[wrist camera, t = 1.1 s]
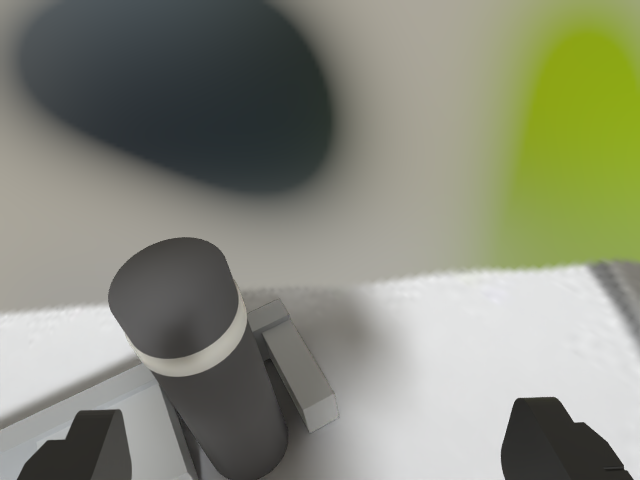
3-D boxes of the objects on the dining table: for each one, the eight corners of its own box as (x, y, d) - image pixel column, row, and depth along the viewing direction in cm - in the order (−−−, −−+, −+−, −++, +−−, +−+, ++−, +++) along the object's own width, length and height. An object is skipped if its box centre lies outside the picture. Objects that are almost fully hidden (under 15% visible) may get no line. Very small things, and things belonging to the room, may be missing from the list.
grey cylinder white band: (270, 388, 34) (207, 220, 23) (303, 455, 31) (249, 296, 20) (196, 425, 33) (95, 266, 22) (223, 500, 30) (120, 356, 19)
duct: (288, 328, 37) (279, 298, 35) (360, 453, 31) (355, 426, 28) (-94, 515, 31) (-137, 494, 29) (-106, 720, 25) (-165, 716, 22)
